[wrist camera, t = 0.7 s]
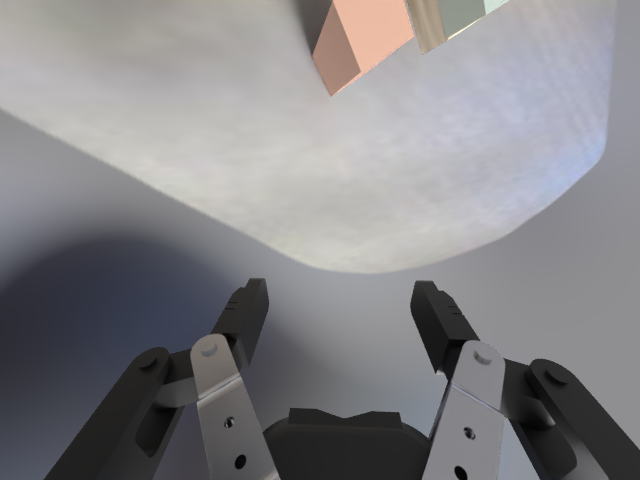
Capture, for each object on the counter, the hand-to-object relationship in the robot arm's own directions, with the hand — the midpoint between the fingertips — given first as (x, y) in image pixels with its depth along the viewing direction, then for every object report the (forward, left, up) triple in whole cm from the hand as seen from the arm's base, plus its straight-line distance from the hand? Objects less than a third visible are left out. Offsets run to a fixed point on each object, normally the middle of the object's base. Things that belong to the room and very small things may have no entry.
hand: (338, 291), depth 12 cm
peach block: (-4, +15, -22) cm, 27 cm away
